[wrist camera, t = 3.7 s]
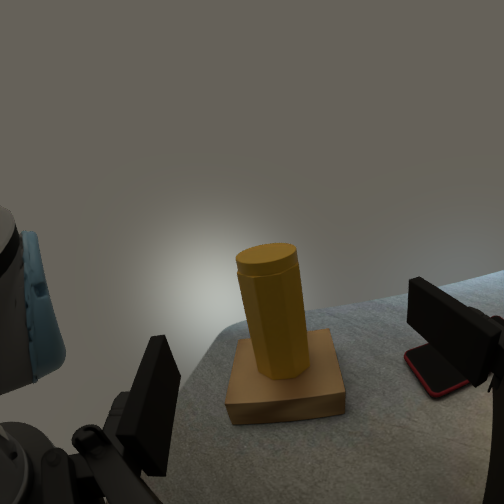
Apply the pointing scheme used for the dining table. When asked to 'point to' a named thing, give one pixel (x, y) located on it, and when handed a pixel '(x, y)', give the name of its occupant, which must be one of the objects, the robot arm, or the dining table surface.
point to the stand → (286, 386)
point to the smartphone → (436, 368)
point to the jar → (274, 309)
